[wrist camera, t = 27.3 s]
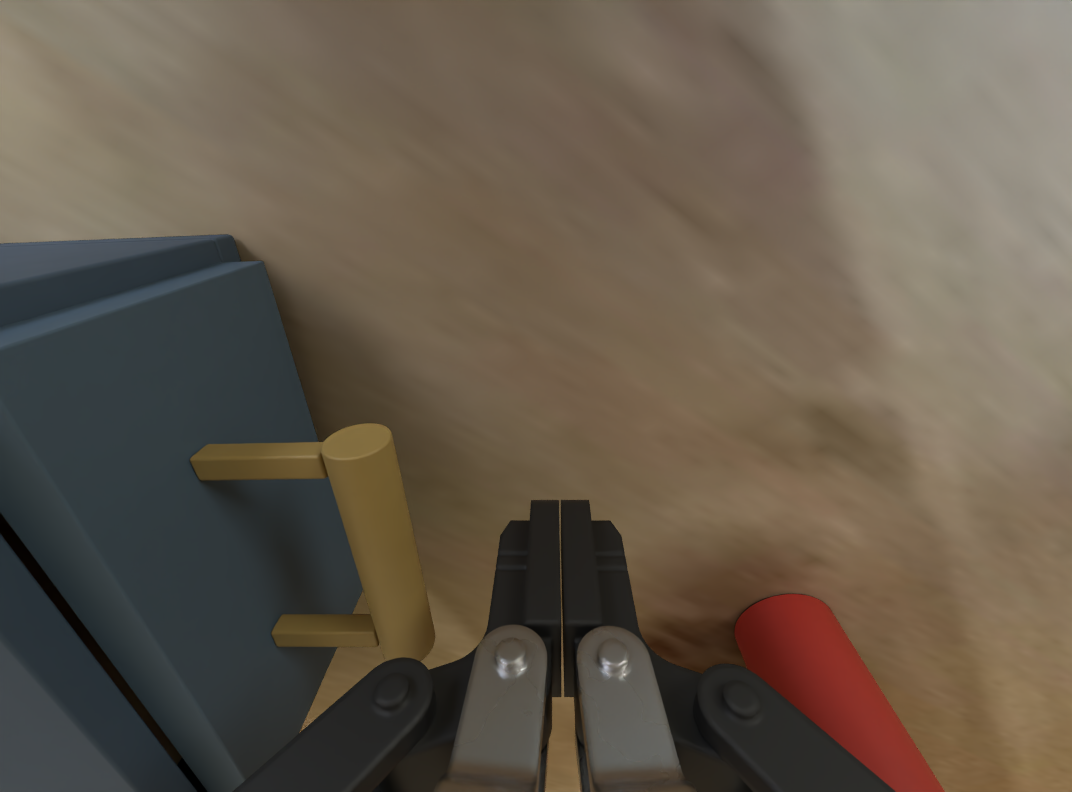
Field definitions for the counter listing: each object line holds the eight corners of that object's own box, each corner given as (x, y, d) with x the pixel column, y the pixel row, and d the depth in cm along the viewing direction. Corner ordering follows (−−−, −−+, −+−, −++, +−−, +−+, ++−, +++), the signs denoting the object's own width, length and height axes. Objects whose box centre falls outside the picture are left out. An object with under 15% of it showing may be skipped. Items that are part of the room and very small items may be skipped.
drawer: (421, 254, 12) (282, 348, 6) (471, 587, 17) (428, 814, 11) (-240, 279, 13) (-969, 384, 7) (10, 589, 18) (-258, 800, 12)
